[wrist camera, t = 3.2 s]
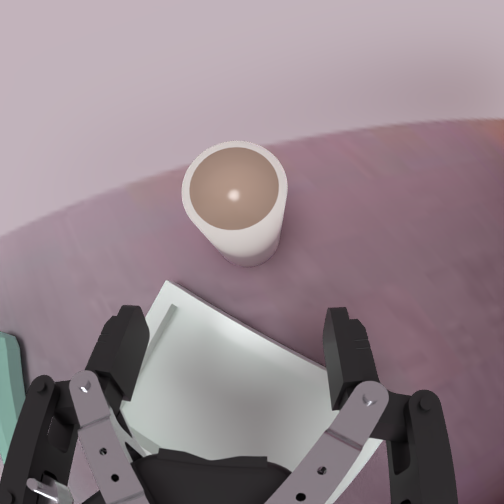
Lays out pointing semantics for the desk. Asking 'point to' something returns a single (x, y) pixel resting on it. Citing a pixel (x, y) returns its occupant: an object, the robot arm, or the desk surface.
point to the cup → (237, 200)
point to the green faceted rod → (9, 390)
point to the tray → (227, 389)
